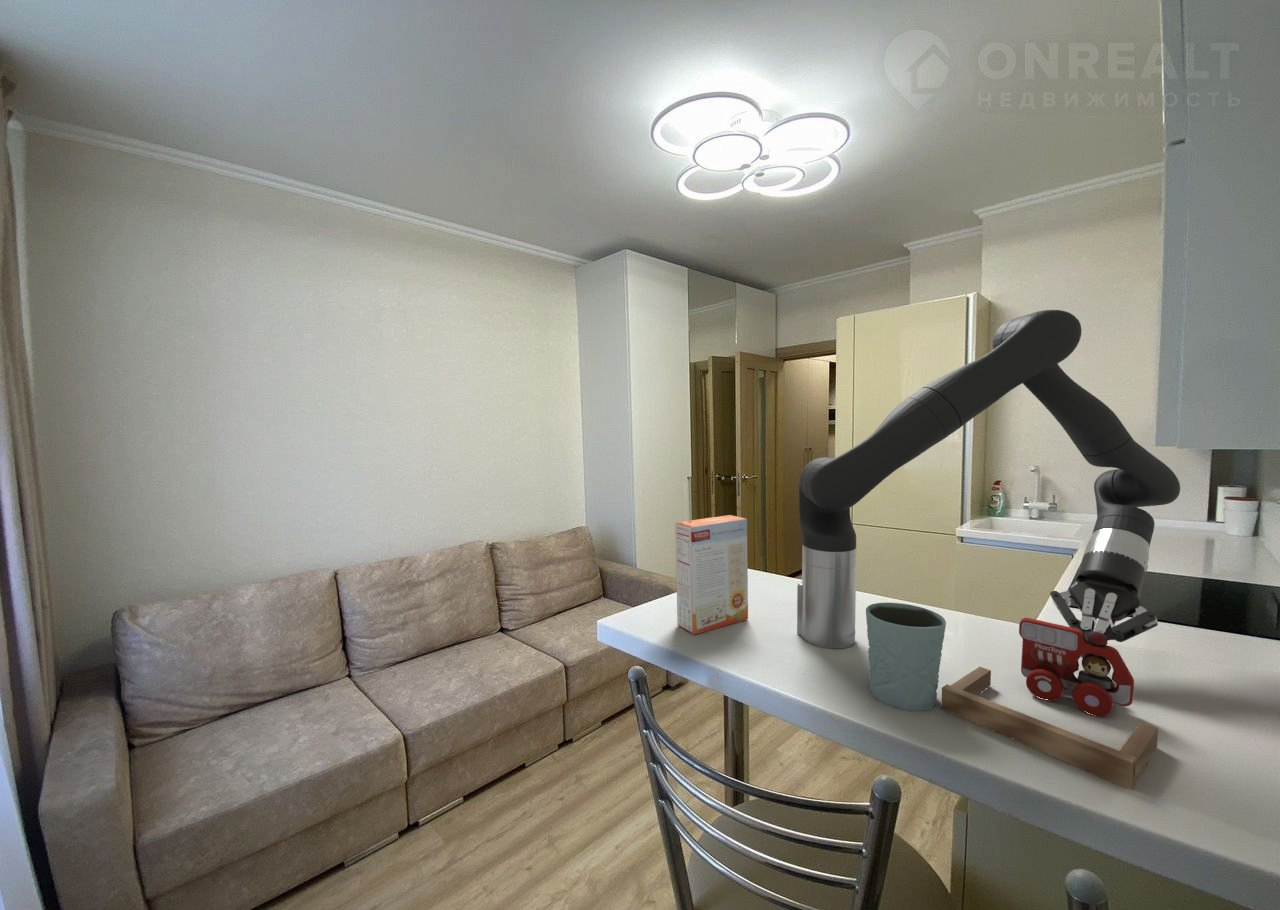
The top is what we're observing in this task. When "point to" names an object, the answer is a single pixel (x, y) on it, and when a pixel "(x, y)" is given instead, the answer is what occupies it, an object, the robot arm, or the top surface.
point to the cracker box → (711, 572)
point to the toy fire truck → (1073, 666)
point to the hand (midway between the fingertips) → (1087, 657)
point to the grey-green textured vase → (904, 654)
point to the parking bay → (1051, 733)
